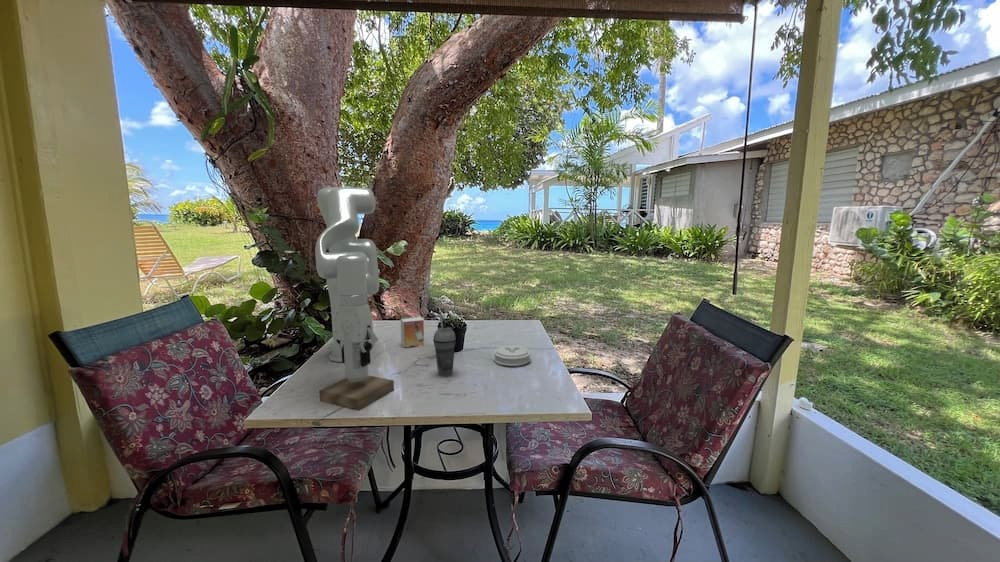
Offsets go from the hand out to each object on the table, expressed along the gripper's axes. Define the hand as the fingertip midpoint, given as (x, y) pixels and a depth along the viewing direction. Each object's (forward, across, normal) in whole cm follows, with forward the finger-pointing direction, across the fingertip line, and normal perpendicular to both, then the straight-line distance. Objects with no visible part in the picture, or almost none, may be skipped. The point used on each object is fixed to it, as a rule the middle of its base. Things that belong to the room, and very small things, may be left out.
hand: (356, 362), depth 116 cm
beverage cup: (+10, +14, +24) cm, 29 cm away
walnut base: (+10, 0, 0) cm, 10 cm away
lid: (+10, +29, +44) cm, 54 cm away
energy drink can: (+5, 0, 0) cm, 5 cm away
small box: (+10, -14, +45) cm, 48 cm away
